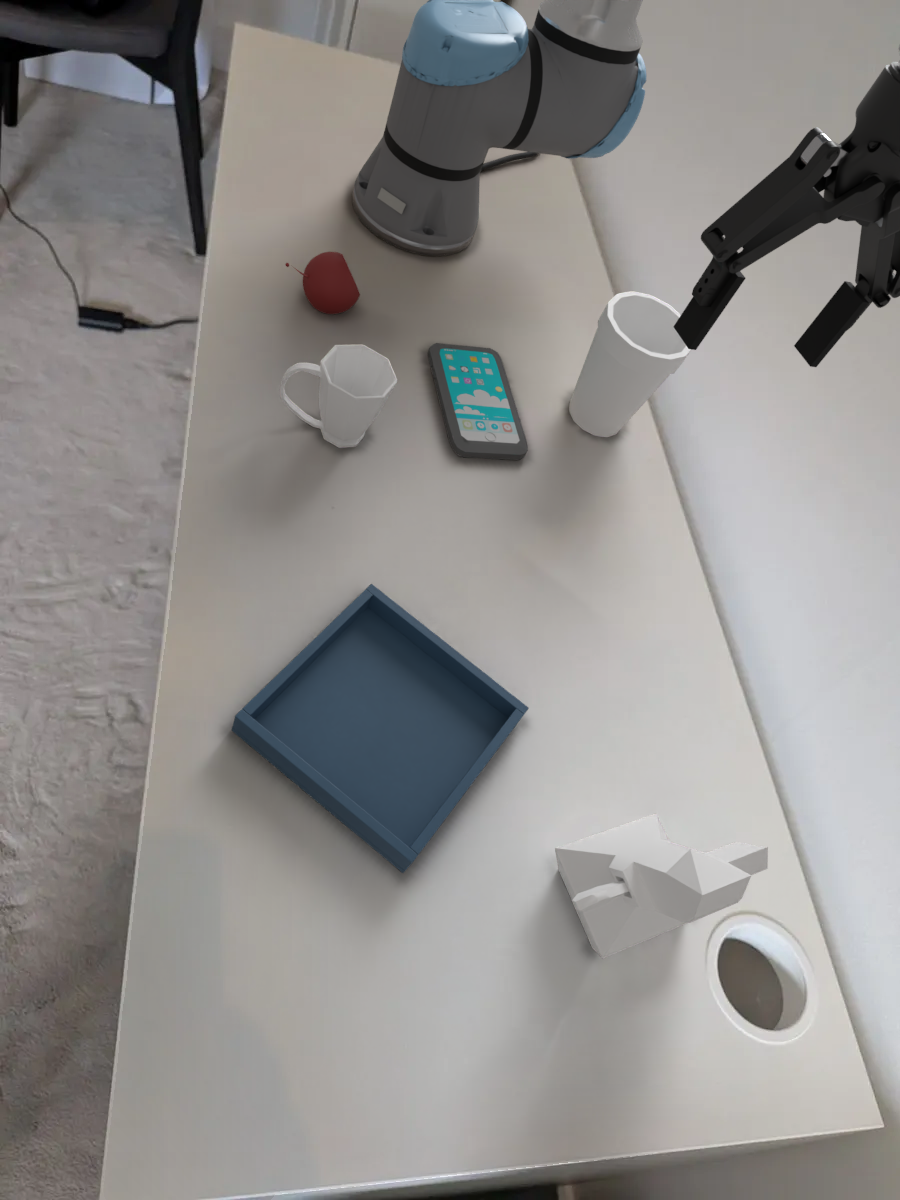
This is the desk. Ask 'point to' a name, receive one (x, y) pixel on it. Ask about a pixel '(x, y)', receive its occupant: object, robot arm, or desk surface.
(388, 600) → the tray
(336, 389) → the cup
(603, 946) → the tape dispenser
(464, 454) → the smartphone
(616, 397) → the foam cup
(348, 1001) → the desk surface
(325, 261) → the fruit
